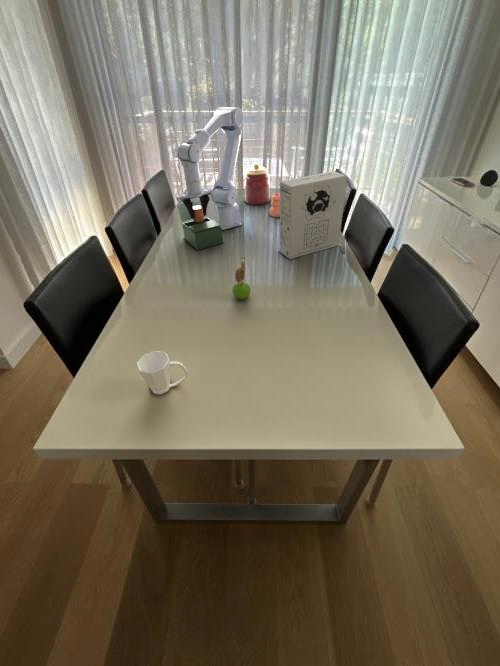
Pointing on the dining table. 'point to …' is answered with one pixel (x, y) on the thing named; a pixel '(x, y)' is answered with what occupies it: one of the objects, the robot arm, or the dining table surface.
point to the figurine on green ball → (241, 283)
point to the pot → (198, 213)
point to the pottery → (275, 205)
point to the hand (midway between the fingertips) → (198, 216)
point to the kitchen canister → (257, 185)
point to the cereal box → (311, 213)
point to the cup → (158, 371)
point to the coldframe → (203, 233)
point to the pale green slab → (186, 210)
